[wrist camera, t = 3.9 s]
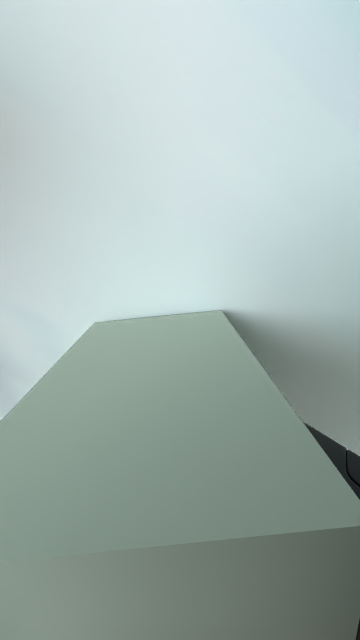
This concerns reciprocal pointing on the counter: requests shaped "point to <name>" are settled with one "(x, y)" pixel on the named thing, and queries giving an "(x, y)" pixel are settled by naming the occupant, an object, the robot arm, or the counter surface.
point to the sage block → (171, 497)
